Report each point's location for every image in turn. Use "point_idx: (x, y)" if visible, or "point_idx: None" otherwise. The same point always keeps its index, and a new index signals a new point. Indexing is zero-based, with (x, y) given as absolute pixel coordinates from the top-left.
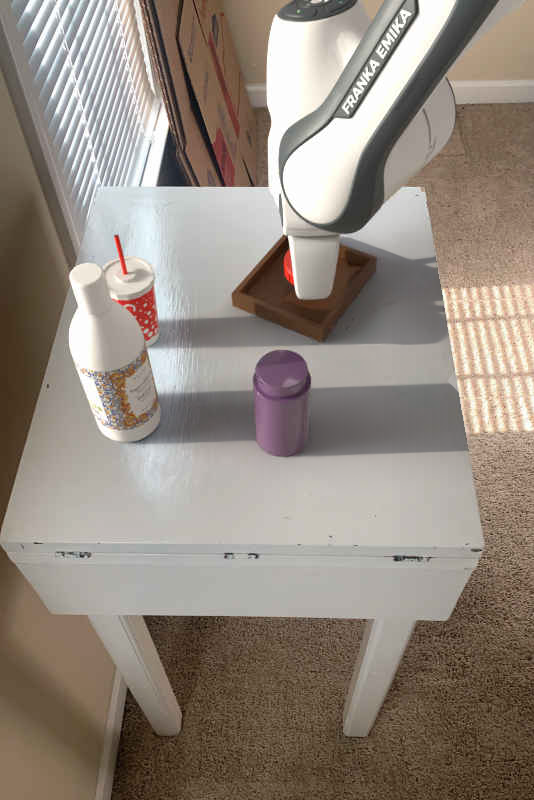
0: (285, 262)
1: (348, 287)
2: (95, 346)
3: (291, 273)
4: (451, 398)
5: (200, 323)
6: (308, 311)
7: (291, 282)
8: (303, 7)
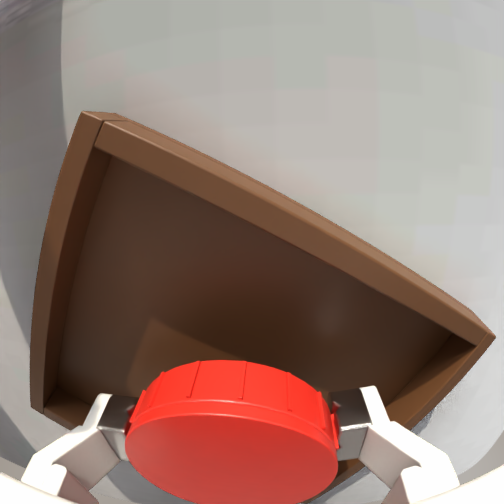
0: (191, 416)
1: None
2: None
3: (140, 417)
4: None
5: (42, 31)
6: (118, 375)
7: (154, 381)
8: None
